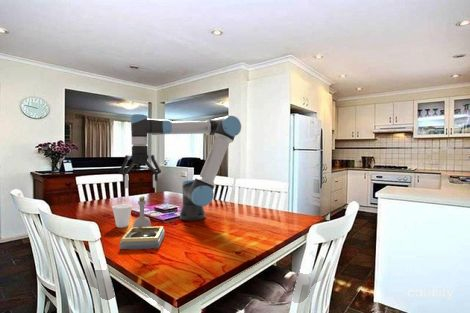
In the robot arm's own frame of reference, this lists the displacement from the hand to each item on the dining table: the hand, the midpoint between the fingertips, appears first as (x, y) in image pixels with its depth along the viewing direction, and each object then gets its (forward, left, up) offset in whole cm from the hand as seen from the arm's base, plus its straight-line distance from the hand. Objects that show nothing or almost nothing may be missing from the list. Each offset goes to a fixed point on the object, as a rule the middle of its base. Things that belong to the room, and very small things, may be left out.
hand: (140, 187), depth 131 cm
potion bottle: (-1, 0, -23) cm, 23 cm away
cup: (+12, -11, -23) cm, 28 cm away
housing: (-5, +14, -23) cm, 27 cm away
